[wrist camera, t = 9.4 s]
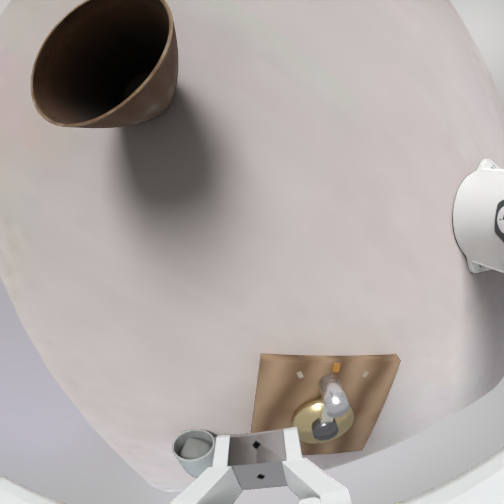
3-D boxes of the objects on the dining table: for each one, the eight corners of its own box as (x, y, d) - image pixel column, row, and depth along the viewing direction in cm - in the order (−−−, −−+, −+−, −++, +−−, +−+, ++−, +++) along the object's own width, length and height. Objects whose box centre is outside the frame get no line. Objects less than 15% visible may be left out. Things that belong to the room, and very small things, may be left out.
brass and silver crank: (359, 363, 39) (376, 394, 31) (346, 431, 42) (357, 462, 34) (292, 370, 39) (299, 405, 31) (290, 439, 42) (294, 472, 35)
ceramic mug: (189, 454, 46) (183, 483, 39) (175, 428, 45) (167, 459, 37) (241, 452, 46) (241, 482, 39) (232, 426, 44) (231, 458, 37)
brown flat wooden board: (395, 354, 41) (401, 361, 39) (359, 443, 46) (362, 451, 44) (260, 353, 41) (261, 362, 38) (248, 446, 45) (248, 455, 43)
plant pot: (144, 34, 31) (98, -24, 15) (226, 75, 33) (209, 10, 17) (83, 117, 33) (10, 93, 18) (158, 167, 35) (96, 157, 20)
